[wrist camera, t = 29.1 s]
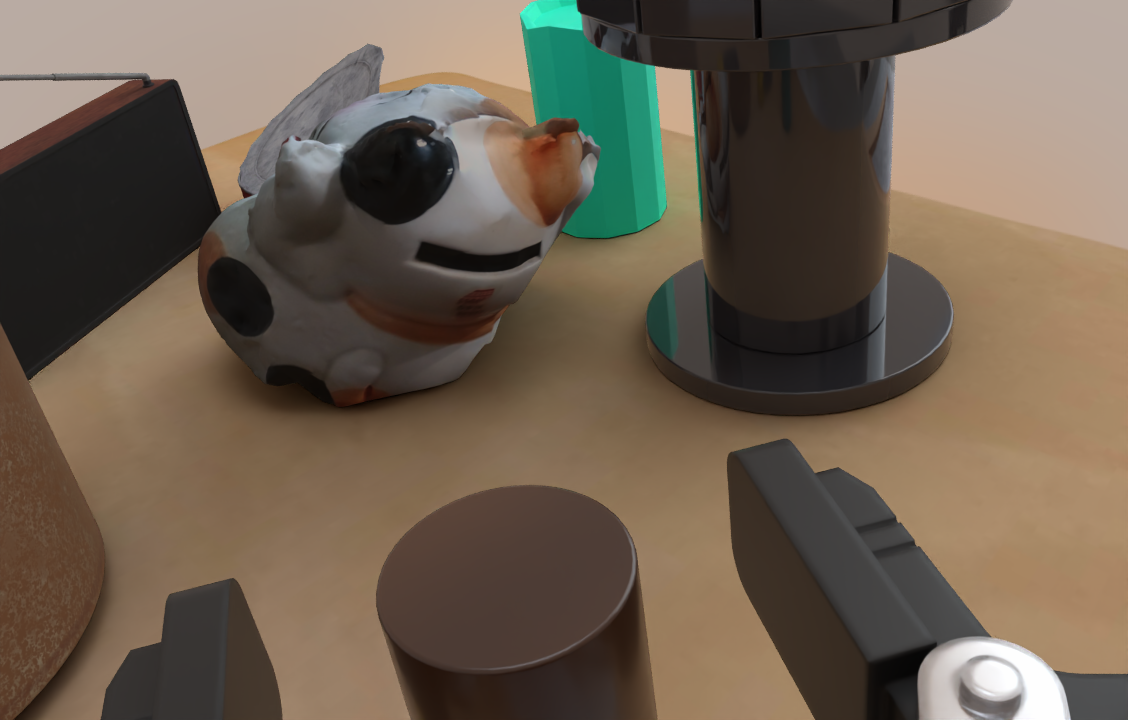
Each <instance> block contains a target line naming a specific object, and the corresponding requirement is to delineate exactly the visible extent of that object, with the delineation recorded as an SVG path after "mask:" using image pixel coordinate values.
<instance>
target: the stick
mask: <svg viewBox="0 0 1128 720" xmlns="http://www.w3.org/2000/svg"><path fill="white" fill-rule="evenodd" d="M376 607H377V611H378V616H379V620H380V623H381V626H382V629H383V632H384V636H385V639H386V642H387V645H388V648H389V652H390V655H391V658H392V661H393V664H394V667H395V671H396V674H397V677H398V680H399V683H400V687H401V690H402V693H403V696H404V699H405V702H406V706H407V709H408V712H409V715H410V718H411V720H658V719H657V711H656V703H655V695H654V687H653V679H652V671H651V663H650V655H649V647H648V639H647V632H646V624H645V616H644V608H643V600H642V592H641V584H640V576H639V568H638V560H637V553H636V548H635V545H634V542H633V539H632V537H631V536H630V534H629V532H628V530H627V528H626V527H625V526H624V525H623V523H622V522H621V521H620V520H619V518H618V517H617V516H616V515H615V514H614V513H612V512H611V511H610V510H609V509H608V508H606V507H605V506H603V505H602V504H600V503H599V502H598V501H595V500H593V499H591V498H589V497H587V496H585V495H582V494H580V493H577V492H574V491H570V490H566V489H562V488H557V487H550V486H539V485H520V486H508V487H500V488H495V489H490V490H486V491H482V492H478V493H475V494H472V495H469V496H466V497H463V498H461V499H458V500H456V501H453V502H451V503H449V504H447V505H445V506H443V507H441V508H439V509H438V510H436V511H434V512H433V513H431V514H429V515H428V516H426V517H425V518H424V519H422V520H421V521H420V522H418V523H417V524H416V525H415V526H414V527H412V528H411V529H410V530H409V531H408V532H407V533H406V534H405V535H404V536H403V537H402V538H401V539H400V541H399V542H398V543H397V544H396V545H395V547H394V548H393V550H392V551H391V553H390V554H389V555H388V557H387V559H386V561H385V563H384V565H383V567H382V570H381V573H380V576H379V580H378V585H377V591H376Z"/></svg>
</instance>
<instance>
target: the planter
mask: <svg viewBox="0 0 1128 720" xmlns="http://www.w3.org/2000/svg"><path fill="white" fill-rule="evenodd" d="M104 569H105V551H104V543H103V539H102V536H101V533H100V530H99V528H98V525H97V523H96V521H95V519H94V517H93V515H92V513H91V511H90V509H89V507H88V505H87V502H86V500H85V498H84V496H83V494H82V492H81V490H80V488H79V486H78V484H77V482H76V480H75V478H74V475H73V473H72V471H71V469H70V467H69V465H68V463H67V461H66V459H65V457H64V455H63V453H62V450H61V448H60V446H59V444H58V442H57V440H56V438H55V436H54V434H53V432H52V430H51V428H50V426H49V423H48V421H47V419H46V417H45V415H44V413H43V411H42V409H41V407H40V405H39V403H38V401H37V398H36V396H35V394H34V392H33V390H32V388H31V386H30V384H29V382H28V380H27V378H26V376H25V373H24V371H23V369H22V367H21V365H20V363H19V361H18V359H17V357H16V355H15V353H14V351H13V349H12V346H11V344H10V342H9V340H8V338H7V336H6V334H5V332H4V330H3V328H2V326H1V324H0V720H13V719H14V718H16V717H17V716H18V715H19V714H20V713H21V712H22V711H23V710H24V709H25V708H26V707H27V706H28V705H29V704H30V702H31V701H32V700H33V699H34V698H35V697H36V696H37V695H38V694H39V693H40V692H41V690H42V689H43V688H44V687H45V686H46V685H47V684H48V682H49V681H50V680H51V679H52V678H53V676H54V675H55V674H56V673H57V671H58V670H59V669H60V667H61V666H62V665H63V663H64V662H65V661H66V659H67V658H68V656H69V655H70V654H71V652H72V651H73V649H74V648H75V646H76V644H77V643H78V641H79V639H80V638H81V636H82V634H83V633H84V631H85V629H86V627H87V625H88V623H89V621H90V619H91V616H92V614H93V612H94V610H95V607H96V604H97V601H98V599H99V595H100V591H101V588H102V583H103V577H104Z"/></svg>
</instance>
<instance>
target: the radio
mask: <svg viewBox="0 0 1128 720" xmlns="http://www.w3.org/2000/svg"><path fill="white" fill-rule="evenodd" d="M124 79H125V80H126V79H142V80H132V81H128V82H126V83H125V84H123V85H121V86H119V87H117V88H115V89H113V90H111V91H109V92H108V93H106V94H104V95H102V96H100V97H98V98H96V99H94V100H93V101H91V102H89V103H87V104H85V105H83V106H81V107H80V108H78V109H76V110H74V111H72V112H70V113H68V114H66V115H65V116H63V117H61V118H59V119H57V120H55V121H53V122H52V123H49V124H48V125H46V126H44V127H42V128H40V129H38V130H36V131H35V132H33V133H31V134H29V135H27V136H25V137H23V138H21V139H19V140H17V141H16V142H14V143H12V144H10V145H8V146H6V147H5V148H3V149H1V150H0V324H1V326H2V328H3V330H4V332H5V334H6V336H7V338H8V340H9V342H10V344H11V346H12V349H13V351H14V353H15V355H16V357H17V359H18V361H19V363H20V365H21V367H22V369H23V371H24V373H25V376H26V378H27V380H28V379H30V378H31V377H32V376H34V375H35V374H36V373H37V372H39V371H40V370H41V369H42V368H44V367H45V366H46V365H48V364H49V363H50V362H51V361H53V360H54V359H55V358H57V357H58V356H59V355H60V354H62V353H63V352H64V351H66V350H67V349H68V348H69V347H71V346H72V345H73V344H74V343H76V342H77V341H78V340H80V339H81V338H82V337H83V336H85V335H86V334H87V333H89V332H90V331H91V330H92V329H94V328H95V327H96V326H98V325H99V324H100V323H101V322H103V321H104V320H105V319H106V318H108V317H109V316H110V315H112V314H113V313H114V312H115V311H117V310H118V309H119V308H121V307H122V306H123V305H124V304H126V303H127V302H128V301H129V300H131V299H132V298H133V297H135V296H136V295H137V294H138V293H140V292H141V291H142V290H144V289H145V288H146V287H147V286H149V285H150V284H151V283H153V282H154V281H155V280H156V279H158V278H159V277H160V276H161V275H163V274H164V273H165V272H167V271H168V270H169V269H170V268H172V267H173V266H174V265H176V264H177V263H178V262H179V261H181V260H182V259H183V258H185V257H186V256H187V255H188V254H190V253H191V252H192V251H193V250H195V249H196V248H197V247H199V246H200V245H201V242H202V239H203V237H204V235H205V233H206V232H207V230H208V229H209V227H210V226H211V225H212V223H213V222H214V221H215V220H216V219H217V217H218V216H219V215H220V214H221V210H220V207H219V204H218V201H217V198H216V195H215V192H214V189H213V186H212V183H211V180H210V177H209V174H208V171H207V168H206V165H205V162H204V159H203V156H202V153H201V150H200V147H199V144H198V141H197V138H196V135H195V132H194V129H193V126H192V123H191V120H190V117H189V114H188V110H187V107H186V105H185V101H184V98H183V96H182V92H181V89H180V87H179V85H178V82H177V81H176V80H174V79H163V80H150V77H149V75H148V74H146V73H96V74H95V73H93V74H92V73H91V74H90V73H89V74H87V73H86V74H51V75H0V81H3V80H53V81H54V80H55V81H59V80H124Z"/></svg>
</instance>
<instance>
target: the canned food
mask: <svg viewBox="0 0 1128 720" xmlns="http://www.w3.org/2000/svg"><path fill="white" fill-rule="evenodd" d="M383 60H384V55H383V51H382V49H381V48H380V47H377V46H374V45H370V44H367V45H365V46H364V47H362V48H361V49H359V50H357V51H355V52H353V53H351V54H348V55H347V56H346V57H345V58H344V59H342V60H341V61H340V62H339V63H338V64H337V65H335V66H334V67H332V68H330V69H329V70H327V71H326V72H324V73H323V74H322V75H321V76H320V77H319V78H318V79H317V80H316V81H315V82H314V83H313V84H312V85H311V86H309V87H308V88H307V89H305V90H304V91H303V92H301V93H300V94H298V95H297V96H296V97H295V98H294V99H293V100H292V101H291V102H290V104H289V105H288V106H287V107H286V108H285V109H284V110H283V111H282V112H281V113H279V114H278V115H277V116H276V117H275V118H274V119H272V120H271V122H270V123H269V124H268V126H267V127H266V128H265V130H264V131H263V133H262V134H261V135H260V136H259V137H258V138H257V140H256V141H255V142H254V143H253V144H252V145H251V147H250V149H249V152H248V154H247V157H246V159H245V160H244V162H243V164H242V165H241V167H240V173H239V176H238V183H239V186H240V188H241V190H242V194H243V197H244V198H248V197H250V196H253V195H255V194H257V193H259V191H260V188H261V186H262V184H263V183H264V182H265V181H266V180H267V179H268V178H269V177H270V176H272V175H273V174H275V164H276V162H277V160H278V157H279V152H280V149H281V145H282V143H283V142H284V141H285V140H286V139H287V138H288V137H289V136H291V135H295V136H297V137H299V138H301V141H303V140H308V139H309V137H310V135H311V133H312V131H313V130H314V128H315V127H316V126H317V125H318V124H319V123H320V122H322V121H323V120H325V119H327V118H328V117H329V116H331V115H332V114H333V113H335V112H337V111H339V110H341V109H344V108H347V107H348V106H349V105H351V104H352V103H354V102H356V101H361V100H364V99H365V98H367V97H368V96H371V95H374V94H378V93H379V79H380V72H381V65H382V62H383Z"/></svg>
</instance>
